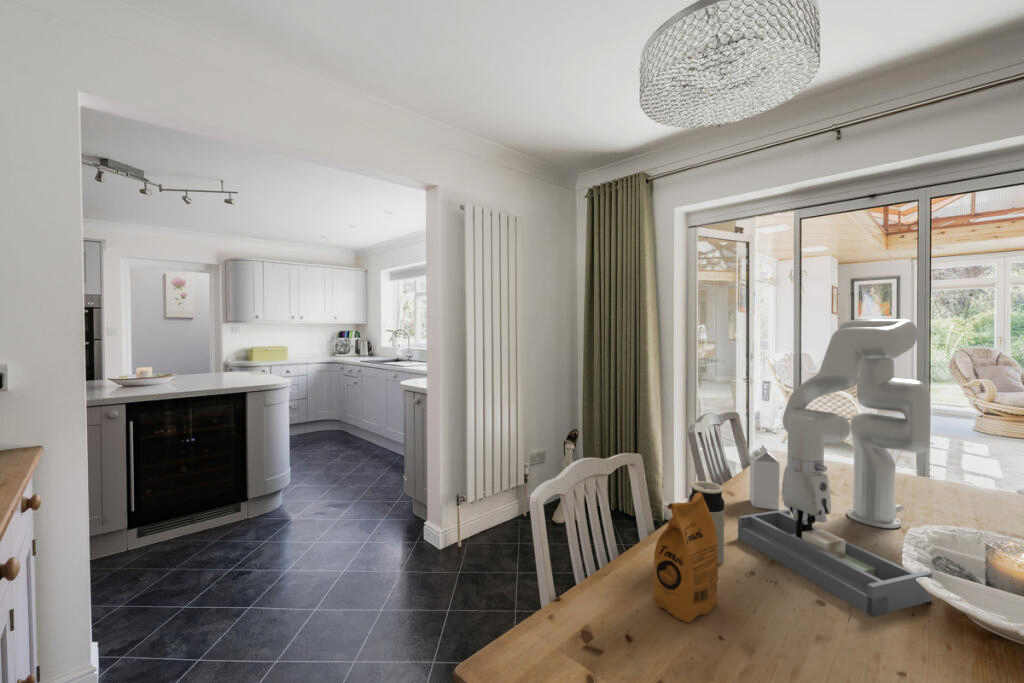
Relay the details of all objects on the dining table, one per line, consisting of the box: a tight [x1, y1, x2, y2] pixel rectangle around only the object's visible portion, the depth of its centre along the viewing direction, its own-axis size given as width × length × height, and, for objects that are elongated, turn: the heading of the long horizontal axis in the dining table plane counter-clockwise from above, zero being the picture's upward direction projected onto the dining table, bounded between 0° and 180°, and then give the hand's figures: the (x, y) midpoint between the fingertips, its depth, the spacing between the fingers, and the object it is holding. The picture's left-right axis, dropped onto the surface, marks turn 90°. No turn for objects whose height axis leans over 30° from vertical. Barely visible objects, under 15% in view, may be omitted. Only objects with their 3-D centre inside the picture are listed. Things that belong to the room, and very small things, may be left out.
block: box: [802, 528, 847, 558], centre depth 105 cm, size 6×6×4 cm
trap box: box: [737, 508, 933, 618], centre depth 105 cm, size 17×34×6 cm, turn 16°
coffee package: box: [653, 493, 719, 623], centre depth 90 cm, size 10×12×22 cm
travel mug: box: [688, 480, 725, 566], centre depth 109 cm, size 8×8×18 cm
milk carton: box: [749, 443, 781, 511], centre depth 141 cm, size 7×7×19 cm
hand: (803, 537), depth 110 cm, fingers closed
